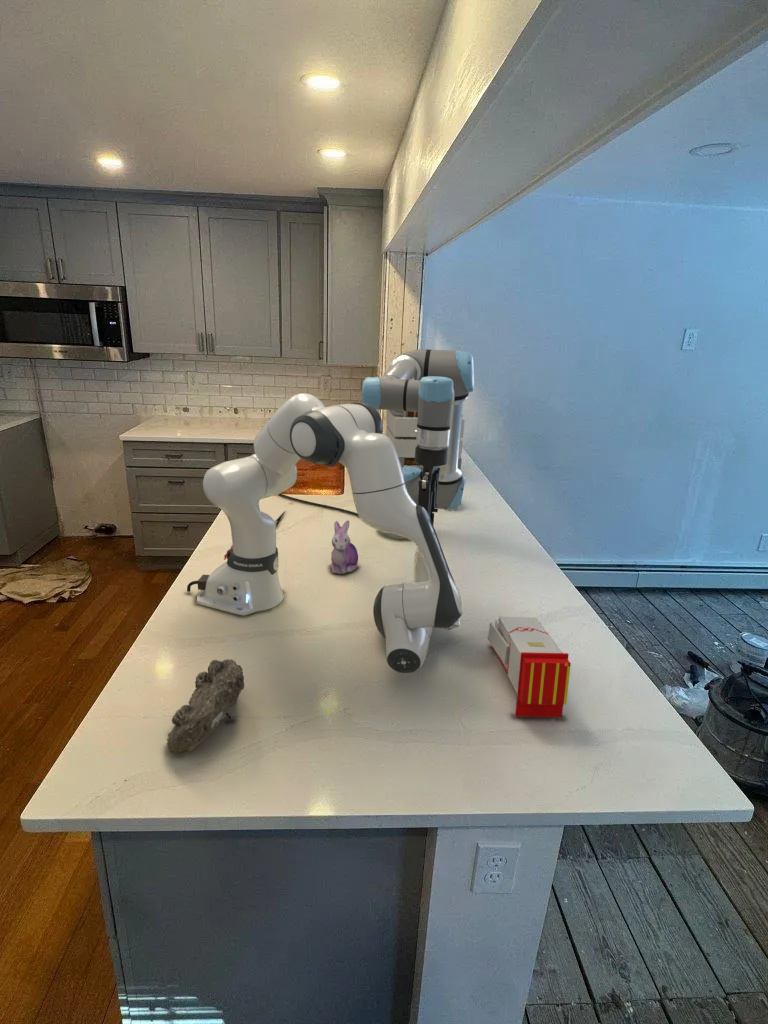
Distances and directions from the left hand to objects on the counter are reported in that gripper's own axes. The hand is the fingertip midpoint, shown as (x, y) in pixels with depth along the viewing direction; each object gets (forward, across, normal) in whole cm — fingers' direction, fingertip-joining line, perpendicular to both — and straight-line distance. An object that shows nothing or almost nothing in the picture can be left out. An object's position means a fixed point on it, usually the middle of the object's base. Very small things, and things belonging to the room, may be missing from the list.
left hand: (421, 595), depth 144 cm
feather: (+62, +59, +7) cm, 86 cm away
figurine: (+24, +26, +7) cm, 36 cm away
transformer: (+136, +17, +7) cm, 138 cm away
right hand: (-1, 0, -15) cm, 15 cm away
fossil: (-46, +34, +7) cm, 58 cm away
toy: (-19, -25, +7) cm, 32 cm away
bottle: (-1, 0, +7) cm, 7 cm away
